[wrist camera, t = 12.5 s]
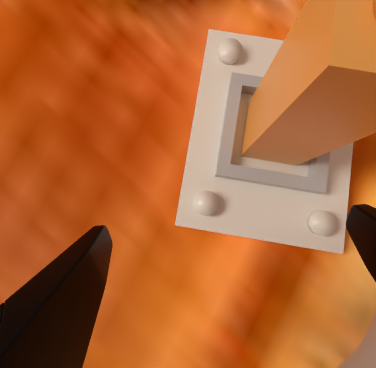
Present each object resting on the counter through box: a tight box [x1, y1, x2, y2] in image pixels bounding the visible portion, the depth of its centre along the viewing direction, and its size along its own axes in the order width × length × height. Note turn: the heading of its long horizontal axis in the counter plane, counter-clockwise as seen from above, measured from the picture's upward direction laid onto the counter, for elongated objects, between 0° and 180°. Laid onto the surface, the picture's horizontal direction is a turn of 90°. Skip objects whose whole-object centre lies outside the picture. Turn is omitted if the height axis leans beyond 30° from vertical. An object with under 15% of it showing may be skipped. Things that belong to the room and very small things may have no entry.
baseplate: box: [175, 29, 354, 254], centre depth 20 cm, size 18×14×3 cm
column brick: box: [241, 0, 376, 166], centre depth 13 cm, size 5×5×13 cm
